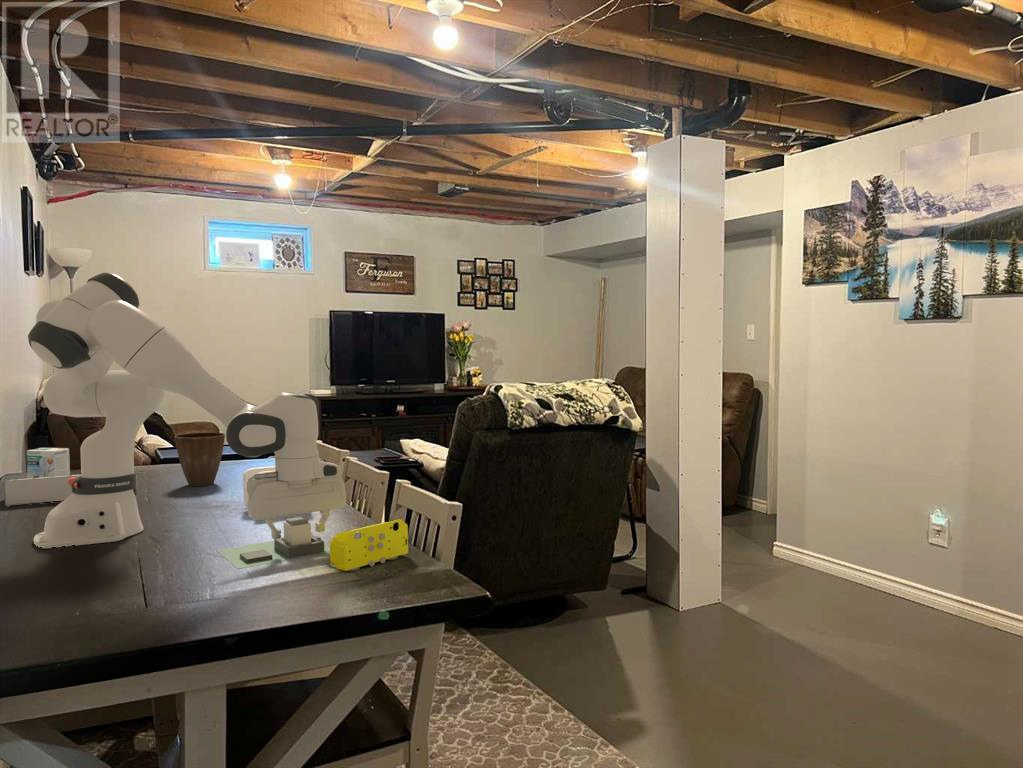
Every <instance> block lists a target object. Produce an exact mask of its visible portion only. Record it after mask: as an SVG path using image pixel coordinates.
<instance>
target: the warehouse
mask: <svg viewBox="0 0 1023 768" xmlns="http://www.w3.org/2000/svg"><path fill="white" fill-rule="evenodd" d="M80 476H81V474H72V475H71V474H70V475H67V476H54V477H41V478H28V477H27V478H19V479H18V478H17V479H16V478H15V479H8V480H4V481H3V487H4V488H3V490H4V506H5V505H7V504H16V503H30V502H44V501H63V500H65V499H66V498H68V497H69V496H70V495H71V494H73V492H72V486H70V485H69V484H68V480H70V479H69V478H71V477H75V478H76V479H77V478H79V477H80Z"/></svg>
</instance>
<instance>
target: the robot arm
mask: <svg viewBox="0 0 1023 768" xmlns="http://www.w3.org/2000/svg"><path fill="white" fill-rule="evenodd" d="M139 307H140V299H139V296H138V293H137V292H136V290H135V289H134V288H133V287H132V286H131V284H130V283H129V282H127V281H126V280H125V279H124V278H122V277H120V276H119V275H117V274H115V273H110V272H102V273H99V274H97V275H94V276H91V278H88V280H87V281H86V283H83V284H82V285H81V286H79V287H77V288H76V289H74V290H73V291H71V292H70V293H69V294H68V295H66V296H65V297H62V298H55V299H52V300H49V301H47V302H46V303H44V304H43V305H42V306H41V307H40V308H39V309H38V311H37V312H36V316H35V324H34V325H33V327H32V328H31V329H30V331H29V333H28V335H27V339H28V343H29V346H30V348H31V349H32V350H33V352H34V353H35V355H36V356H37V357H38V358H39V359H40V360H42V361H43V362H45V363H46V364H48V365H50V366H52V367H54V368H56V369H57V371H58V372H56V373H54V374H52V375H51V376H50V377H49V378H48V379H47V381H46V382H45V385H44V386H43V394H42V397H43V398H42V399H43V401H44V404H45V406H46V408H48V410H49V411H50V412H51V413H53V414H54V415H59V416H65V417H72V418H96V417H97V418H98V417H99V418H101V417H102V418H103V417H104V418H105V424H104V426H103V428H102V429H101V430H98V431H96V432H94V433H92V434H90V435H89V436H88V437H86V438H85V439H84V440H83V441H82V443H81V445H80V450H79V451H80V472H81V476H80V477H79V478H77V479H76V478H75V477H71V478H69V479H70V480H68V484H69V485H70V486H72V492H73V494H71V495H70V496H69V497H68V498H66V499H65V500H64V501H62V502H59V503H58V504H57V505H56V506H55V507H53V508H52V509H51V510H50V511H48V514H47V517H46V518H45V522H44V528H43V531H42V532H39V533H37V534H35V535H34V537H33V542H34V543H33V545H34V544H35V545H36V546H35V545H34V546H35V547H37V546H38V547H37V548H40V547H42V548H41V549H53V548H52V547H56V548H63V547H62V546H65V547H73V546H72V545H75V546H83V545H92V544H101V543H111V542H119V541H122V540H124V539H126V538H128V537H131V536H135V535H137V534H139V533H141V532H143V531H144V526H143V523H142V520H141V516H140V512H139V507H138V501H137V494H138V477H137V472H135V458H134V457H135V444H136V439H137V436H138V432H139V430H140V428H141V427H142V425H143V424H144V422H145V421H146V420H147V419H148V418H149V417H150V416H151V415H152V414H154V413H156V411H157V410H158V409H159V408H160V407H161V406H162V404H163V401H164V398H165V392H170V393H174V394H178V395H181V396H183V397H185V398H188V399H190V400H191V401H193V402H194V403H196V405H198V406H200V408H202V409H203V410H205V411H206V412H207V413H208V414H210V415H211V416H213V417H214V418H215V419H217V420H219V422H221V423H222V424H223V425H224V427H225V429H226V432H225V437H226V442H227V444H228V446H229V448H230V449H231V451H232V452H234V453H236V454H237V455H239V456H242V457H245V458H257V457H260V456H263V455H264V456H265V455H268V454H272V453H274V466H275V472H270V473H265V474H255V475H254V476H253V477H251V478H250V479H249V480H248V482H247V492H248V494H249V497H248V507H247V509H246V511H247V512H246V513H247V515H248V516H249V518H250V519H252V520H254V521H261V520H263V521H264V520H265V523H266V525H267V526H268V527H269V529H270V531H271V539H273V540H274V539H278V538H282V530H281V529H279V528H276V526H275V525H274V524H276V519H277V518H283V517H290V516H297V515H303V514H304V515H305V514H311V513H315V512H318V513H319V514H320V515H321V516H320V518H319V521H317V522H315V524H314V526H315V532H317V533H320V532H321V533H322V532H325V531H326V523H327V521H328V519H329V517H330V515H331V511H330V510H338V509H343V508H344V506H345V505H346V504H347V494H346V485H345V480H344V479H343V477H341V476H340V475H342V467H341V466H340V465H338V464H336V463H334V462H329V461H327V460H322V459H320V453H319V449H318V436H319V418H318V410H317V405H316V402H315V401H314V400H313V399H312V398H311V396H308V395H307V394H303V393H298V392H291V391H289V392H288V391H281V392H278V393H277V394H276V395H275V396H273V397H272V398H270V399H268V400H267V401H265V402H263V403H260V404H256V403H252V402H248V401H246V400H244V399H243V398H241V397H239V396H238V395H236V393H234V392H233V391H231V390H230V389H229V388H228V387H227V386H225V385H224V384H222V383H221V382H220V381H219V380H218V379H216V378H214V377H213V376H212V375H211V374H210V373H209V372H208V371H207V369H205V368H204V367H203V366H202V364H201V363H200V362H199V361H198V359H197V358H196V357H195V356H194V355H193V353H192V352H191V351H190V350H189V349H188V347H187V346H186V345H185V344H184V343H183V342H182V341H181V340H180V339H179V338H178V337H177V336H176V335H175V334H174V333H173V332H171V331H170V330H169V329H168V328H167V327H165V326H164V325H163V324H162V323H160V322H159V321H158V320H156V319H155V318H154V317H153V316H152V315H149V314H148V313H146V312H144V311H143V310H141V309H140V308H139ZM114 362H115V363H116V364H117V365H119V366H120V367H121V368H123V370H122V369H119V370H118V369H112V366H113V364H114ZM111 369H112V370H111ZM253 478H254V480H252V479H253ZM262 478H263V479H262Z"/></svg>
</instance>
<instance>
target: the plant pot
mask: <svg viewBox="0 0 1023 768" xmlns="http://www.w3.org/2000/svg"><path fill="white" fill-rule="evenodd" d="M225 437H226V433H223V432H193V433H192V432H190V433H182V434H176V435H174V441H175V447H176V452H177V456H178V460H179V463H180V467H181V469H182V472H183V475H184V478H185V480H186V481H187V484H188V485H189V486H191V487H203V486H205V487H206V486H211V485H213V484H214V483H215V480H216V477H217V474H218V472H219V467H220V465H221V461H222V457H223V451H224V444H225Z"/></svg>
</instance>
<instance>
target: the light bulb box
mask: <svg viewBox="0 0 1023 768" xmlns="http://www.w3.org/2000/svg"><path fill="white" fill-rule="evenodd" d="M70 462H71V461H70V448H67V447H38V448H34V449H28V450H26V463H27V464H26V465H27V468H26V469H27V478H41V477H54V476H67V475H71V471H70V470H71V468H70V467H71V466H70Z"/></svg>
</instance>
